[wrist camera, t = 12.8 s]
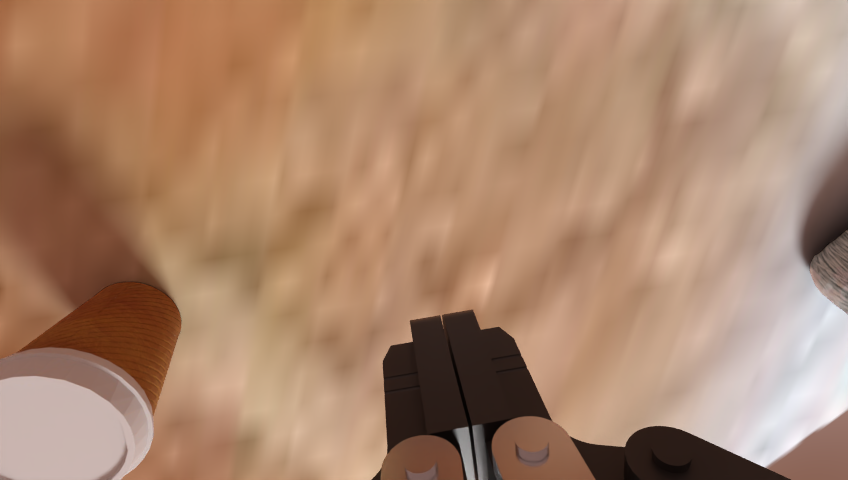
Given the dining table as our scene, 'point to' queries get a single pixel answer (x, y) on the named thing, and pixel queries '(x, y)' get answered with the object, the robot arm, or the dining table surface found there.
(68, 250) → the dining table surface
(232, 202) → the dining table surface
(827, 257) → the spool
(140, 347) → the disposable coffee cup
